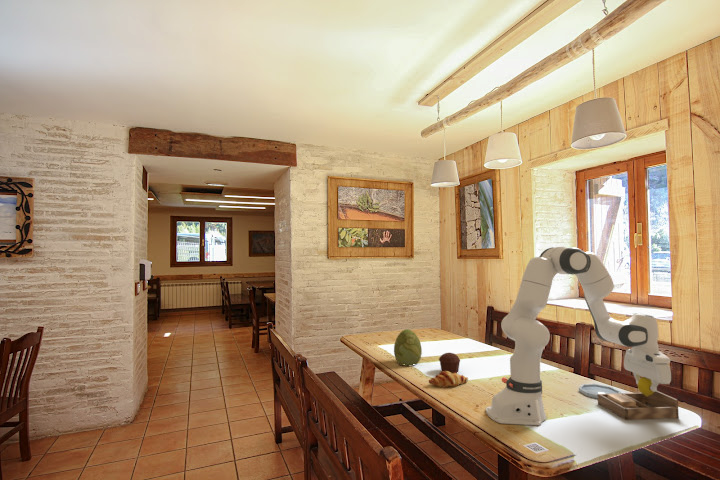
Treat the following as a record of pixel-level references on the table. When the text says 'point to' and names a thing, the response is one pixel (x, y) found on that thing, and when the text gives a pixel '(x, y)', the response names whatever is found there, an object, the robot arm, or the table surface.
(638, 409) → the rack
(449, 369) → the muffin
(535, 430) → the table surface
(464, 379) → the croissant
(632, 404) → the block
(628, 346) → the robot arm
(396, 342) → the decorative sculpture
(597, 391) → the plate
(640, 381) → the lemon
